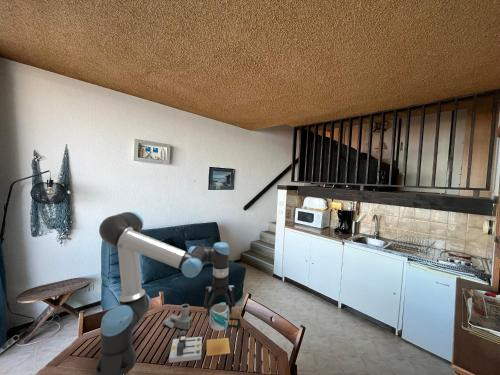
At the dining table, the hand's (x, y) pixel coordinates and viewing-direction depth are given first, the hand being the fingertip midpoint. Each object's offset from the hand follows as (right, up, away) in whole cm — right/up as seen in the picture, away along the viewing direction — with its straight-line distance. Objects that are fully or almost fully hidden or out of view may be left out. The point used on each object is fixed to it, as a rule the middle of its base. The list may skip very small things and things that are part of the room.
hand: (219, 320), depth 110 cm
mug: (+1, -1, 0) cm, 1 cm away
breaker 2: (-17, -10, -3) cm, 20 cm away
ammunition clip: (+5, -13, +17) cm, 22 cm away
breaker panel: (-15, -13, -3) cm, 20 cm away
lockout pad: (-1, -13, +1) cm, 13 cm away
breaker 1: (-18, -10, +1) cm, 21 cm away
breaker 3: (-17, -11, -7) cm, 21 cm away
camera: (-25, -12, +16) cm, 32 cm away
